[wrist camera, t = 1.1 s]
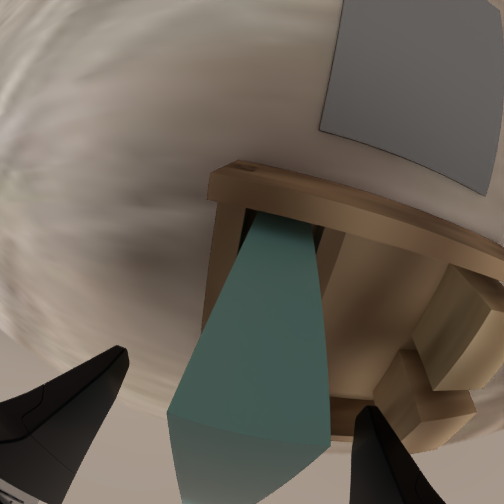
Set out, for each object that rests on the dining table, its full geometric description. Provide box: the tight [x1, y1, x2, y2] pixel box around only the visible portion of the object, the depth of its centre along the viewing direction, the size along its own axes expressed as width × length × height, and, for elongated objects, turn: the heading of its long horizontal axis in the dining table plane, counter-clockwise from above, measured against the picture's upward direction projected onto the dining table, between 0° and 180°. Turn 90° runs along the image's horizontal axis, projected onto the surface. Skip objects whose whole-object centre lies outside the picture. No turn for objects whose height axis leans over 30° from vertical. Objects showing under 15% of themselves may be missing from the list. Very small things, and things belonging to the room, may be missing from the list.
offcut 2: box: [373, 349, 477, 454], centre depth 11 cm, size 4×4×5 cm
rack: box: [201, 160, 504, 442], centre depth 12 cm, size 15×13×4 cm
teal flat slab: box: [167, 211, 331, 504], centre depth 9 cm, size 2×10×9 cm, turn 169°
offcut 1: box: [411, 263, 504, 391], centre depth 9 cm, size 4×4×4 cm
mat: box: [319, 0, 504, 197], centre depth 7 cm, size 9×12×1 cm
